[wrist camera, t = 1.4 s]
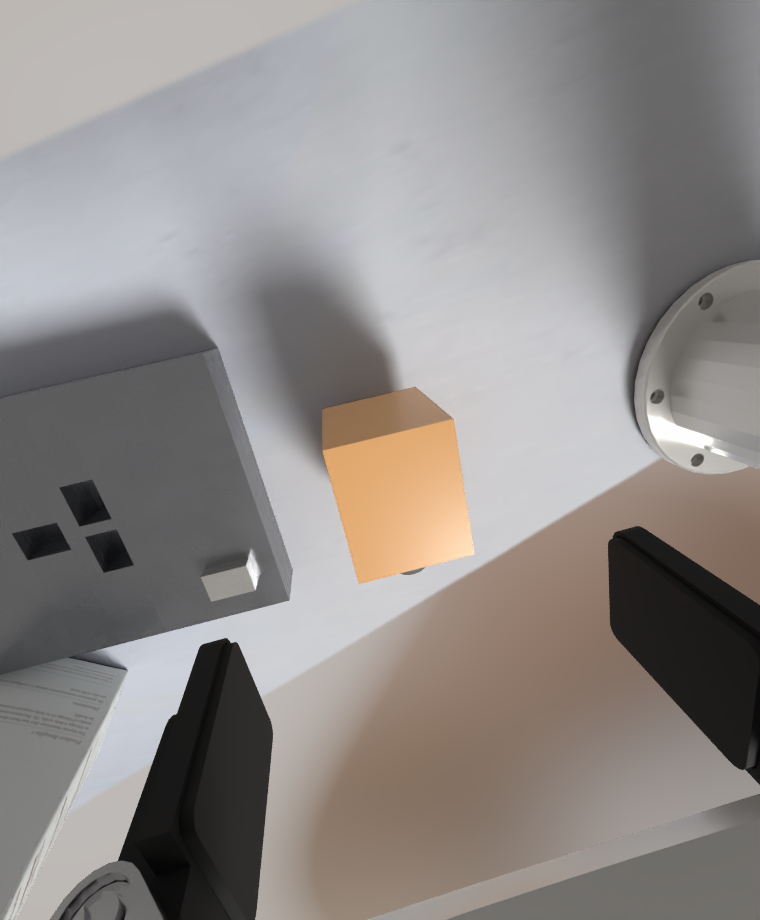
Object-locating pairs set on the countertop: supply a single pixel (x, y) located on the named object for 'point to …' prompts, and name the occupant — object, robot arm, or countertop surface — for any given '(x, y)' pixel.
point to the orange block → (397, 483)
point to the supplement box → (46, 760)
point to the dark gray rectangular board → (130, 511)
